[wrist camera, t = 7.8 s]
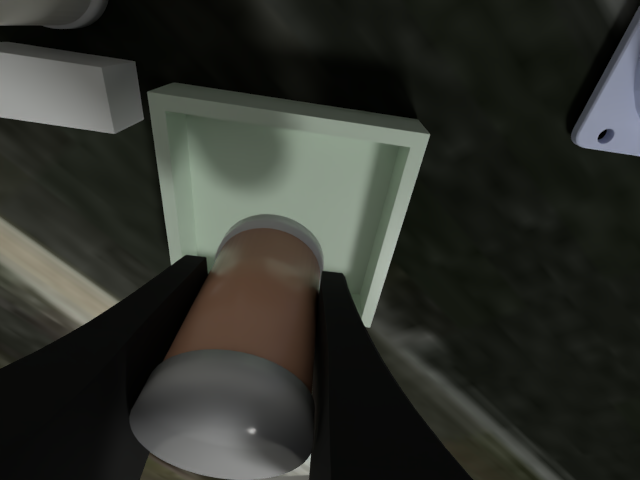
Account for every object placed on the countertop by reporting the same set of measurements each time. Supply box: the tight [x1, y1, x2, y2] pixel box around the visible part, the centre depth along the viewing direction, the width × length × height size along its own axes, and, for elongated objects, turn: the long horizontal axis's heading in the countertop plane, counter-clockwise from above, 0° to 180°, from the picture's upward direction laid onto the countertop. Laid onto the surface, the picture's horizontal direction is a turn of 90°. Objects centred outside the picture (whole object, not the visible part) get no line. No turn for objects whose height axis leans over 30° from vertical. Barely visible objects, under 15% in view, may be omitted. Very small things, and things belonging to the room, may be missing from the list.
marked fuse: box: [130, 214, 324, 480], centre depth 9 cm, size 4×4×6 cm
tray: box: [147, 82, 430, 327], centre depth 14 cm, size 9×9×2 cm
